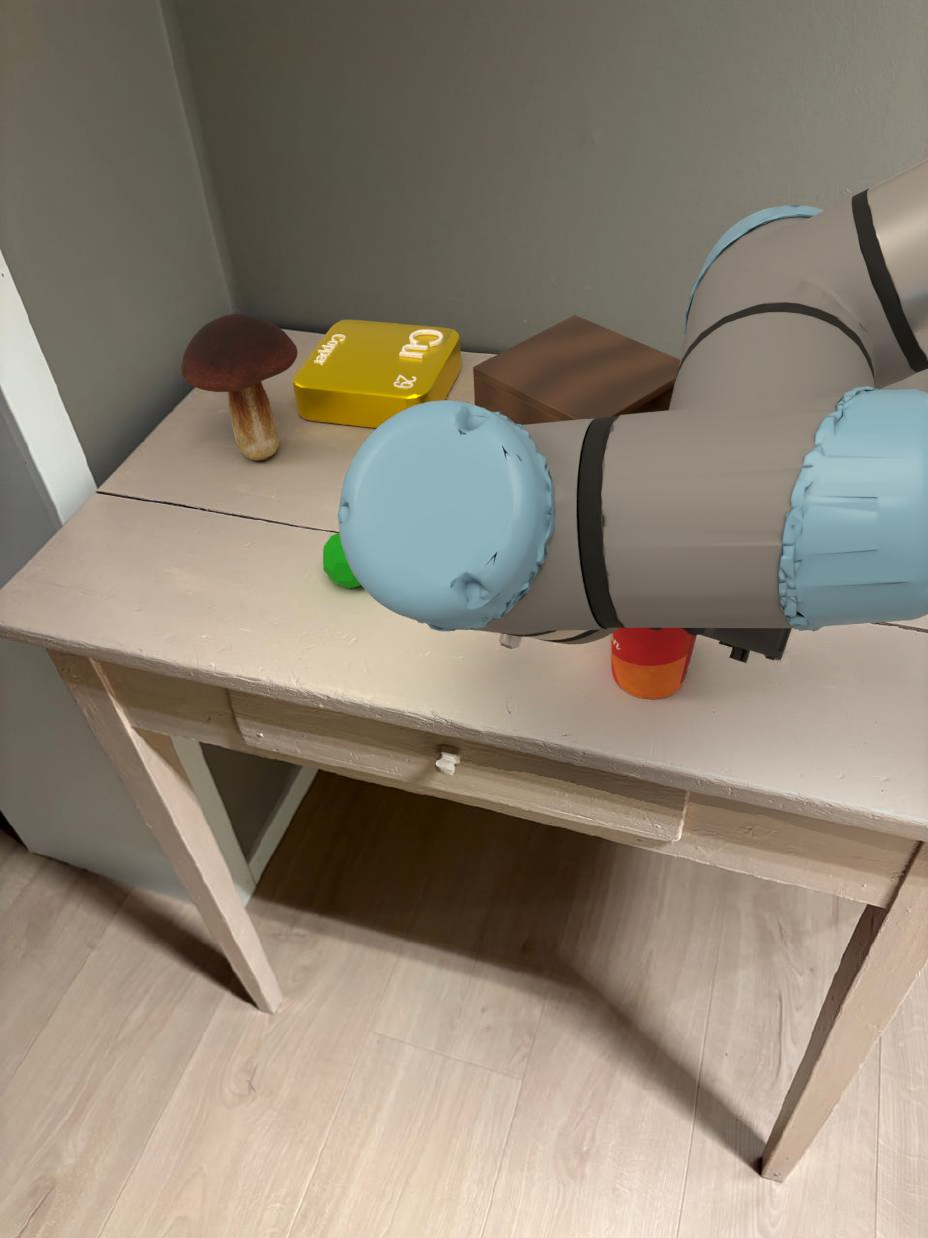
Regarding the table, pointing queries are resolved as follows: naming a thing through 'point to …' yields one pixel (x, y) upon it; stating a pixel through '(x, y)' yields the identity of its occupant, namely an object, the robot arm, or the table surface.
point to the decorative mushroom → (241, 374)
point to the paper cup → (650, 660)
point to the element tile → (375, 371)
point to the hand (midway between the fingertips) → (643, 598)
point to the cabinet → (572, 375)
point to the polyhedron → (338, 563)
